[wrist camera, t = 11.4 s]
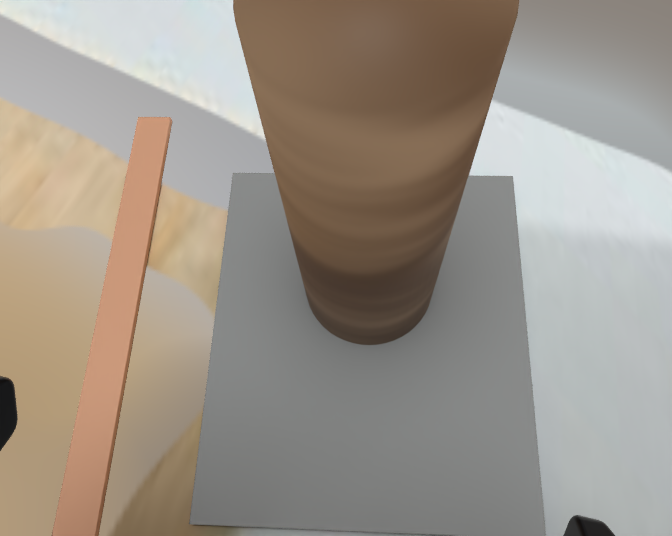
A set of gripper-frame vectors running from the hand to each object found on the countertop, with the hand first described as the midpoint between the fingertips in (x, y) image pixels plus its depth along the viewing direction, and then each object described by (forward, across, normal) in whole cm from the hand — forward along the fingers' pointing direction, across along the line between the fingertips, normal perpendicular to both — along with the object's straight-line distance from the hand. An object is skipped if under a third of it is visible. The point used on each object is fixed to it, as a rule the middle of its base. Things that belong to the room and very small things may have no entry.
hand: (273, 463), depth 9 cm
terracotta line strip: (+12, +9, +6) cm, 16 cm away
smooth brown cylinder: (+14, 0, +3) cm, 14 cm away
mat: (+13, 0, +5) cm, 14 cm away
